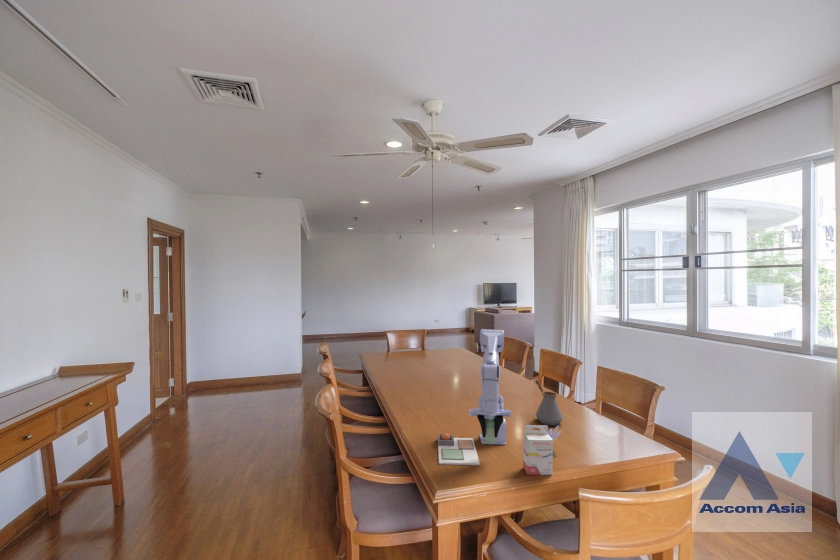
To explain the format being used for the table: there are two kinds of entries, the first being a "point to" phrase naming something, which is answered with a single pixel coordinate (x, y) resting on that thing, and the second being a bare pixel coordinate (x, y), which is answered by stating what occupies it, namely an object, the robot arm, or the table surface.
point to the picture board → (457, 451)
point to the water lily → (554, 435)
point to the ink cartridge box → (537, 450)
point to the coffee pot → (548, 409)
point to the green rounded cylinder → (489, 430)
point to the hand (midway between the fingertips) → (489, 436)
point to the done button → (445, 436)
